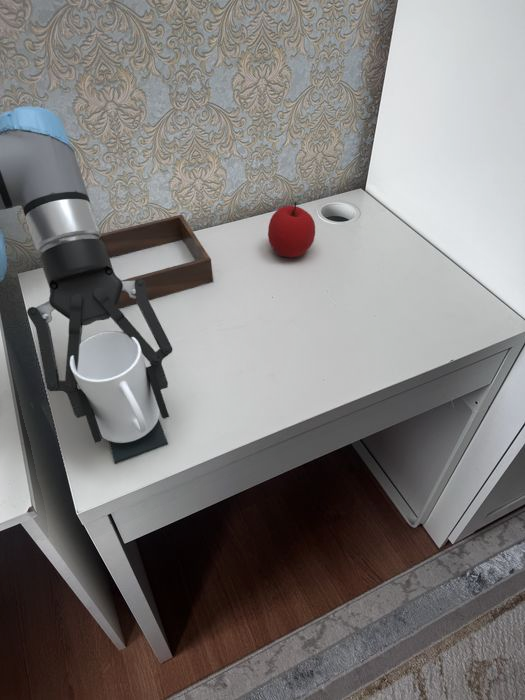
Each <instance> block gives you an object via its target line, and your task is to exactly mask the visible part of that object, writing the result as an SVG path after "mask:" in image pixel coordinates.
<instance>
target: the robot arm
mask: <svg viewBox="0 0 525 700" xmlns="http://www.w3.org/2000/svg"><path fill="white" fill-rule="evenodd" d="M19 206H20V207H21V208H22V211H23V215H24V218H25V222H26V224H27V227H28V229H29V232H30V236H31V238H32V241H33V244H34V247H35V250H36V251H38V252H40V253H41V254H40V256H39V262H40V264H41V267H42V270H43V273H44V276H45V279H46V282H47V285H48V288H49V297H48V301H46V302H44V303H42V304H40V305H38V306H36V307H35V306H31V307H29V308H28V309H27V311H26V314H27V316H28V317H29V319H30V321H31V322H32V324H33V326H34V327H35V330H36V331H35V332H36V336H37V342H38V347H39V353H40V359H41V365H42V369H43V370H42V371H43V375H44V382H45V387H46V390H47V391H49V392H62V393H65V394H66V395H67V398H68V400H69V403H70V407H71V408H72V412H73V414H74V416H75V418H77V419H79V418H83V417H85V418H86V421H87V424H88V427H89V430H90V433H91V437H92V438H93V442H94V444H98V443H100V442H102V441H103V437H102V435H101V432H100V429H99V427H98V424H97V421H96V418H95V415H94V412H93V410H92V408H91V406H90V403H89V401H88V399H87V397H86V394H85V393H84V392H83V391H82V389H80V388H79V385H78V383H77V381H76V379H75V377H74V374H73V372H72V370H71V367H70V358H71V356H74V362H75V367H76V370H78V361H79V347H80V343H81V342H82V334H83V327H85V326H88V325H92V324H93V323H94V322H97V321H107V320H109V319H110V318H111V320H112V321H113V322H114V323H115V324H116V325H117V327H119V329H120V330H121V332H124V333H126V334H127V335H128V336H129V338H130V339H131V340H132V338H131V337H134V338H135V339H136V340H137V341H138V342H139V344H140V347H141V351H142V354H143V357H144V358H145V359H146V360H147V361H148V362H149V364H150V365H149V366H146V370H147V373H148V377H149V380H150V384H151V387H152V390H153V393H154V396H155V399H156V402H157V405H158V408H159V411H160V417H161V418H162V420H163V419H164V420H165V419H167V418H169V417H170V415H169V411H168V408H167V406H166V402H165V399H164V396H163V394H162V390H165V389H168V387H169V382H168V379H167V375H166V373H165V370H164V367H163V360H164V359H165V358H166V357H168V356H169V355H170V354H172V352H173V350H174V349H173V347H172V344H171V342H170V341H169V338H168V336H167V334H166V333H165V330H164V328H163V327H162V324H161V323H160V322H161V321H159V318H158V315H157V314H156V312H155V310H154V308H153V307H152V305H151V302H150V300H148V298H147V296H146V287H145V281H144V280H143V279H142V278H138V279H136V280H135V281H121V279H120V278H119V277H118V276H117V275H116V272H115V271H114V267H113V265H112V261H111V258H109V256H108V253H107V250H106V247H105V244H104V242H102V241H101V240H99V238H100V236H101V234H102V232H101V229H100V226H99V223H98V220H97V217H96V213H95V211H94V208H93V204H92V203H91V200H90V197H89V194H88V191H87V187H86V185H85V182H84V179H83V175H82V172H81V169H80V166H79V162H78V160H77V156H76V154H75V148H74V147H73V146H72V144H71V141H70V138H69V136H68V133H67V131H66V129H65V126H64V123H63V121H62V120H61V118H60V117H59V116H58V115H57V113H54V112H53V111H51V110H49V109H47V108H44V107H40V106H33V105H32V106H31V105H27V106H18V107H15V108H14V109H13V110H12V111H5V112H2V113H1V114H0V211H2V210H7V209H8V210H9V209H13V208H14V207H19ZM3 233H4V232H2V229H1V228H0V283H2V281H4V279H5V275H6V273H7V268H8V257H7V244H6V242H7V240H6V238H5V236H4V234H3ZM122 291H126V292H127V293H128V294H129V296H130V297H131V298H133V299H135V298H136V302H137V307H138V308H139V311H140V313H141V314H142V317H143V318H144V320H145V322H146V324H147V326H148V328H149V330H150V332H151V335H152V337H153V339H154V340H155V342H156V344H157V346H158V348H159V349H157V350H154V348H153V347H152V346H151V345H150V344H149V343H148V341H147V340H146V339H145V338H144V337H143V335H142V334H141V333H140V332H139V331H138V330H137V329H136V327H135V326H134V325H133V323H131V322H130V320H129V319H128V318H127V317H126V316H125V314H124V313H123V312H122V310H121V309H120V308H119V309H118V307H117V305H118V302H119V299H120V296H121V293H122ZM54 310H55V311H57V312H58V313H60V314H61V315H62V316H63V317H65V318H67V319H68V320H69V321H68V337H67V338H68V339H67V340H68V341H67V351H66V362H65V363H66V364H65V374H64V380H61V379H60V376H59V375H60V374H59V370H58V365H57V360H56V358H57V357H56V353H55V347H54V342H53V337H52V330H51V327H50V325H49V323H51V321H52V320H53V316H52V312H53V311H54ZM132 341H133V340H132Z"/></svg>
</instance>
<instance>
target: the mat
mask: <svg viewBox="0 0 525 700" xmlns="http://www.w3.org/2000/svg"><path fill="white" fill-rule="evenodd" d="M168 442H169V441H168V439H167V437H166V434H165V431H164V429H163V426H162V424H161V421H160V418H159V419H158V421H157V423H156V425H155V426H154V428H153V429H152V430H151V431H150V432H149V433H147V434H146V435H145V436H143V437H141V438H139V439H137V440H134V441H131V442H126V443H116V442H112V441H109V440H108V443H109V447H110V451H111V454H112V458H113V461H114V464H116V465H117V464H120V463H122V462H125V461H127V460H130V459H132V458H135V457H138V456H140V455H144V454H146V453H148V452H152V451H154V450H156V449H159V448H163V447H164V446H167V445H169V443H168Z"/></svg>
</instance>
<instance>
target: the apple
mask: <svg viewBox="0 0 525 700" xmlns="http://www.w3.org/2000/svg"><path fill="white" fill-rule="evenodd" d="M315 236H316V224H315V220H314V218H313V217H312V215H311V214H310V213H309V212H308V211H306V210H305V209H304V208H301V207H300V206H297V202H296V201H294V205H287V206H286V205H285V206H283V207H280V208H278V209H277V210H276V211H275V212H274V213H273V214H272V216H271V218H270V219H269V224H268V231H267V238H268V242H269V244H270V246H271V248H272V249H273V250H274V251H275V253H277V254H278V255H279V256H281V257H284V258H298V257H300V256H302V255H304V254H305V253H306V252H307V251H308V250H309V249H310V248H311V247H312V245H313V243H314V241H315Z"/></svg>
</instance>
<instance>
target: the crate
mask: <svg viewBox="0 0 525 700" xmlns="http://www.w3.org/2000/svg"><path fill="white" fill-rule="evenodd" d="M99 240H101V241H102V242H104V244H105V247H106V250H107V253H108V256H109V259H111V258H115V257H118V256H123V255H125V254H129V253H133V252H134V253H135V252H138V251H143V250H147V249H150V248H153V247H154V248H155V247H158V246H161V245H166V244H169V243H174V242H177V241H183V242H184V244H185V246H186V247H187V249H188V250H189V252H190V254H191V256H192V257H193V258H194V260H192V261H188V262H185V263H181V264H177V265H173V266H170V267H166V268H162V269H158V270H155V271H152V272H148V273H144V274H141V275H137V276H132V277H129V278H126V279H122V280H121V279H120V280H121V281H135V280H136V279H138V278H142V279H143V280H144V281H145V287H146V296H147V298H148V300H149V301H150V300H154V299H157V298H161V297H164V296H168V295H171V294H175V293H179V292H183V291H186V290H189V289H193V288H197V287H200V286H203V285H208V284H211V283H213V282H214V275H213V266H212V258H211V257H210V255H209V254H208V252H207V251H206V249H205V248H204V246H203V245H202V243H201V242H200V240H199V239H198V237H197V236H196V234H195V232H194V231H193V230H192V228H191V227H190V225H189V223H188V222H187V221H186V219H185V218H184V216H183V214H178V215H173V216H171V217H166V218H161V219H157V220H153V221H148V222H145V223H141V224H136V225H131V226H128V227H123V228H119V229H116V230H112V231H106V232H102V233H101V236H100V238H99ZM136 304H137V302H136V298H135V299H133V298H131V297H130V296H129V294H128V293H127V292H126V291H122V293H121V296H120V299H119V302H118V305H117V307H118V309H119V310H120V309H122V308H127V307H129V306H133V305H136ZM137 305H138V304H137Z"/></svg>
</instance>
